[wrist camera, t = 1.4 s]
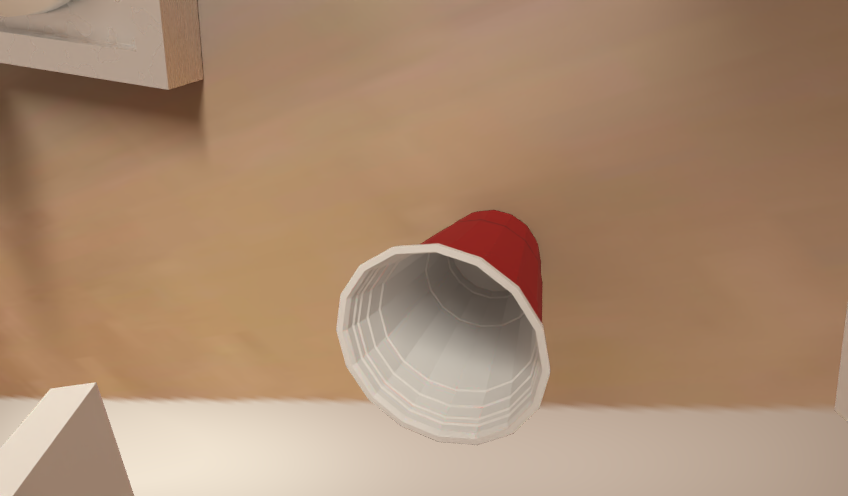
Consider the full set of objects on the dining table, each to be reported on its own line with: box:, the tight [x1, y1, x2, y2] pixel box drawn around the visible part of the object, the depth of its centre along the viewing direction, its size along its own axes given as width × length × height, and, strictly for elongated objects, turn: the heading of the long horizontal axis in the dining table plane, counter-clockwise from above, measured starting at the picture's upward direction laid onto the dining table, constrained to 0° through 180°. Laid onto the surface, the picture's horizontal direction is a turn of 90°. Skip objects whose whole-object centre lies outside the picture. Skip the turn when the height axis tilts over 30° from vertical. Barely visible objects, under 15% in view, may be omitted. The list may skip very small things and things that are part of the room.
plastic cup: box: [336, 210, 550, 445], centre depth 36 cm, size 11×11×12 cm
